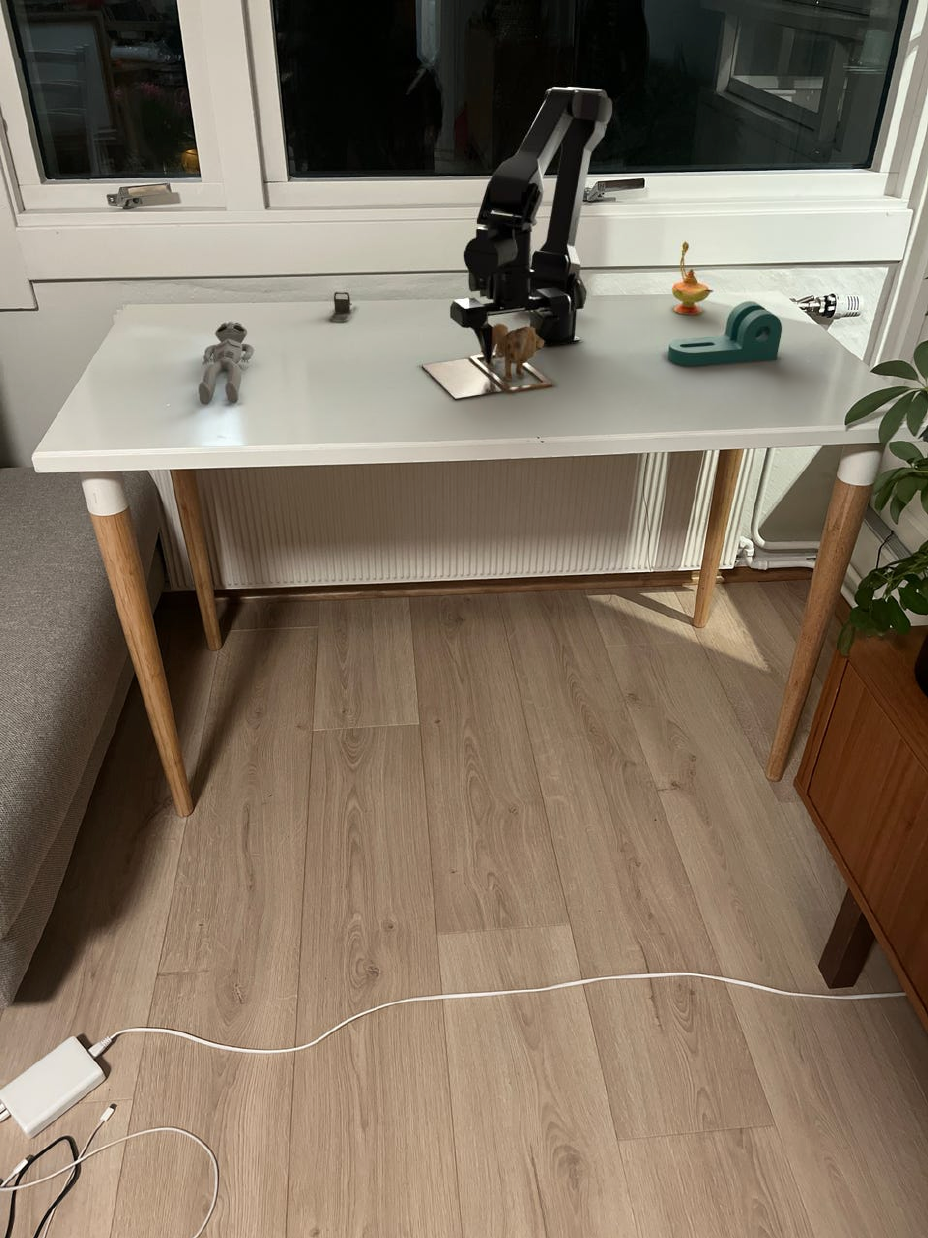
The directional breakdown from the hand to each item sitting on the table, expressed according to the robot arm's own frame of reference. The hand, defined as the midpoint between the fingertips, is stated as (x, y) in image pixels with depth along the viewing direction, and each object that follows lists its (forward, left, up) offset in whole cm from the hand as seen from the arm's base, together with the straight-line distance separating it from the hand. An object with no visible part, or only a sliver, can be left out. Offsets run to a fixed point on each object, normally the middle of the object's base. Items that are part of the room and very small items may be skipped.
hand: (509, 359), depth 157 cm
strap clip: (+17, -38, -2) cm, 42 cm away
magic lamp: (-44, -14, -2) cm, 46 cm away
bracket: (-36, +7, -2) cm, 37 cm away
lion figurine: (0, 0, -2) cm, 2 cm away
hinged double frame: (+4, 0, -2) cm, 4 cm away
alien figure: (+43, -16, -2) cm, 46 cm away
